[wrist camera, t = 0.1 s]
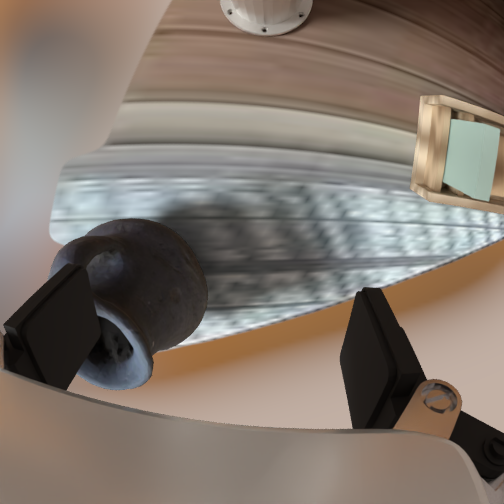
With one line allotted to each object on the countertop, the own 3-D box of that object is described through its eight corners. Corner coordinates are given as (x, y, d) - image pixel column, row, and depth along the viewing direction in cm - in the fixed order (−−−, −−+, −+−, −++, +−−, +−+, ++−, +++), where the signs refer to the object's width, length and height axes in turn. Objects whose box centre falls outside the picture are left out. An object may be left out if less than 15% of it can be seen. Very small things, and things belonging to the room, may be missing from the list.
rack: (420, 95, 38) (442, 95, 31) (513, 126, 37) (539, 131, 31) (409, 188, 44) (429, 201, 37) (501, 205, 43) (524, 218, 37)
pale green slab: (438, 117, 37) (485, 123, 27) (452, 121, 37) (500, 129, 26) (431, 176, 41) (473, 198, 30) (445, 178, 41) (488, 201, 30)
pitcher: (117, 307, 56) (54, 404, 34) (89, 195, 48) (-15, 262, 25) (223, 310, 55) (195, 431, 32) (210, 184, 46) (148, 260, 23)
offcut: (485, 131, 34) (491, 133, 33) (516, 141, 34) (522, 142, 33) (478, 190, 38) (483, 193, 37) (508, 195, 38) (514, 198, 36)
